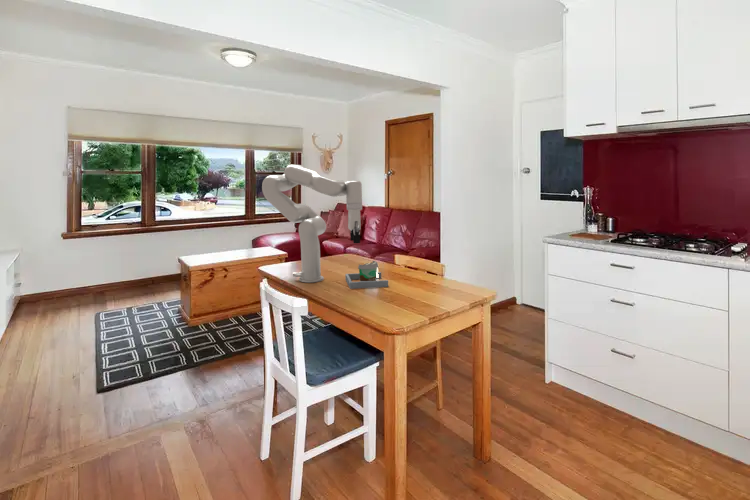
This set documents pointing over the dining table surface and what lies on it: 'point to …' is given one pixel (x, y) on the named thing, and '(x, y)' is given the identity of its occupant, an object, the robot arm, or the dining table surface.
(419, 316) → the dining table surface
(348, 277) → the low box
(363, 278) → the food container
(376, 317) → the dining table surface
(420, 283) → the dining table surface
